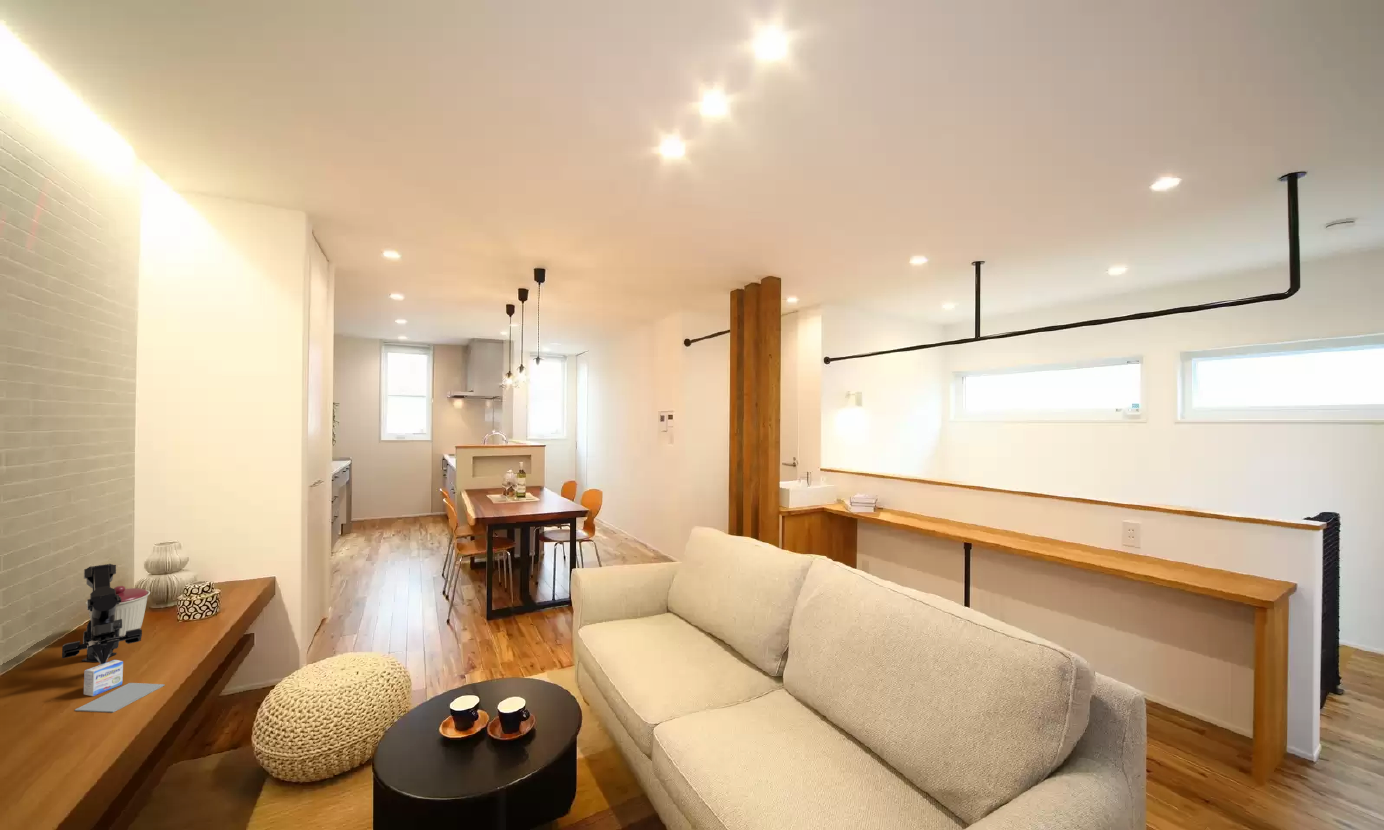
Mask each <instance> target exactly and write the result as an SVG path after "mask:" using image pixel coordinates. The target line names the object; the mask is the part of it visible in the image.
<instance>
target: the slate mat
mask: <svg viewBox="0 0 1384 830" xmlns="http://www.w3.org/2000/svg"><path fill="white" fill-rule="evenodd" d="M163 687H165V684H163V683H161V684H160V683H144V682H143V683H142V682H141V683H140V682H139V683H138V682H128V683H127V684H124V685H121V686H119V687H118V688H116V689H114V690H112V691H110V692H108V693H106V694H104V695H102V696H100V697H98V698H96V699H94V700H92V701H90V702H88V703H85V704H84V705H82V706H79V707H77V708H75V709H74V712H89V713H90V712H91V713H92V712H95V713H112V714H113V713H116V711H119V710H121V709H123V708H124V707H126V706H129V705H131V704H132V703H134V702H136V701H137V700H140V699H142V698H143V697H145V696H147V695H149V694H152V693H153V692H155V691H157V690H159V689H161V688H163Z"/></svg>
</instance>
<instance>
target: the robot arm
mask: <svg viewBox="0 0 1384 830" xmlns="http://www.w3.org/2000/svg"><path fill="white" fill-rule="evenodd" d="M116 574H117V564H112V563H108V564H107V563H105V564H100V565H99V564H98V565H92V566H88V567H87V568H85V569H84V570H83V579H84V580H86V581H85V582H86V584H85V585H87V586H89V587H90V588H91V590H92V592H90V594H89V595H90V596H89V597H90V598H89V599H87V600H86V602H87V605H86V610H87V611H89V610H90V611H92V616H91V620H90V619H89V621H88V623H87V624H86V630H84V631H83V637H82V643H81V640H78V641H71V642H67V643H64V644H63V645H62V647H61V648H62V649H61V658H62V659H67V658H70V657H71V658H72V657H76V656H78V655H79V654H80V651H83V650H86V657H85V658H83V659H81V662H87V663H89V662H91V663H93V662H94V663H99V665H101V664H104V663H107V662H108V661H109V660H108V659H109V658H111V657H113V656H115V655H117V652H113V651H114V650H115V649H118V648H119V643H120V642H123V641H125V644H129V645H130V644H133V643H137V642H140V641H142V637H143V630H142V628H138V629H134V630H129V631H126V635H122V636H119V630H120V629H121V628H122V619H120V620H115V611H116V605H118V604H119V603H120V602H121V597H120V596H119V595H118V594H117V595H116V592H115V589H114V588H113V587H111V582H112V581H113V580H114V575H116Z"/></svg>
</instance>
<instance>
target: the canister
mask: <svg viewBox="0 0 1384 830" xmlns="http://www.w3.org/2000/svg"><path fill="white" fill-rule="evenodd" d="M113 589H115V592H116V595H117V594H118V595H119V596H120V597H121V602H120V603H119V604H118V605H116V611H115V620H120V619H122V628H121V629H120V630H119V636H122V635H126V631H129V630H134V629H138V628H140V629H142V626H143V621H144V618H145V614H146V613H145V611H146V607H147V602H148V596H149V595H150V594H151V591H150V590H148V589H144V588H140V587H138V588H137V587H136V588H132V587H131V588H130V587H129V588H126V586H123V585H117V586H116V587H114V588H113ZM85 605H86V606H87V601H85ZM88 615H89V616H88V617H89V621H90V620H91V616H92V611H90V610H88Z"/></svg>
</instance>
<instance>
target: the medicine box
mask: <svg viewBox="0 0 1384 830" xmlns="http://www.w3.org/2000/svg"><path fill="white" fill-rule="evenodd" d="M83 672H84V675H83V678H84V679H83V695H84V696H90V697H95V696H99V695H100V694H102V693H105V692H107V691H110V690H112V689H115V688H117V687H118V688H119V687H121V686H123V678H124V677H123V674H124V673H123V672H124V661H123V660H119V659H113V660H110V661H107V662H106V663H104V664H98V665H96V666H93V667H90V668H87V669H85V670H84V671H83Z"/></svg>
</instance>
